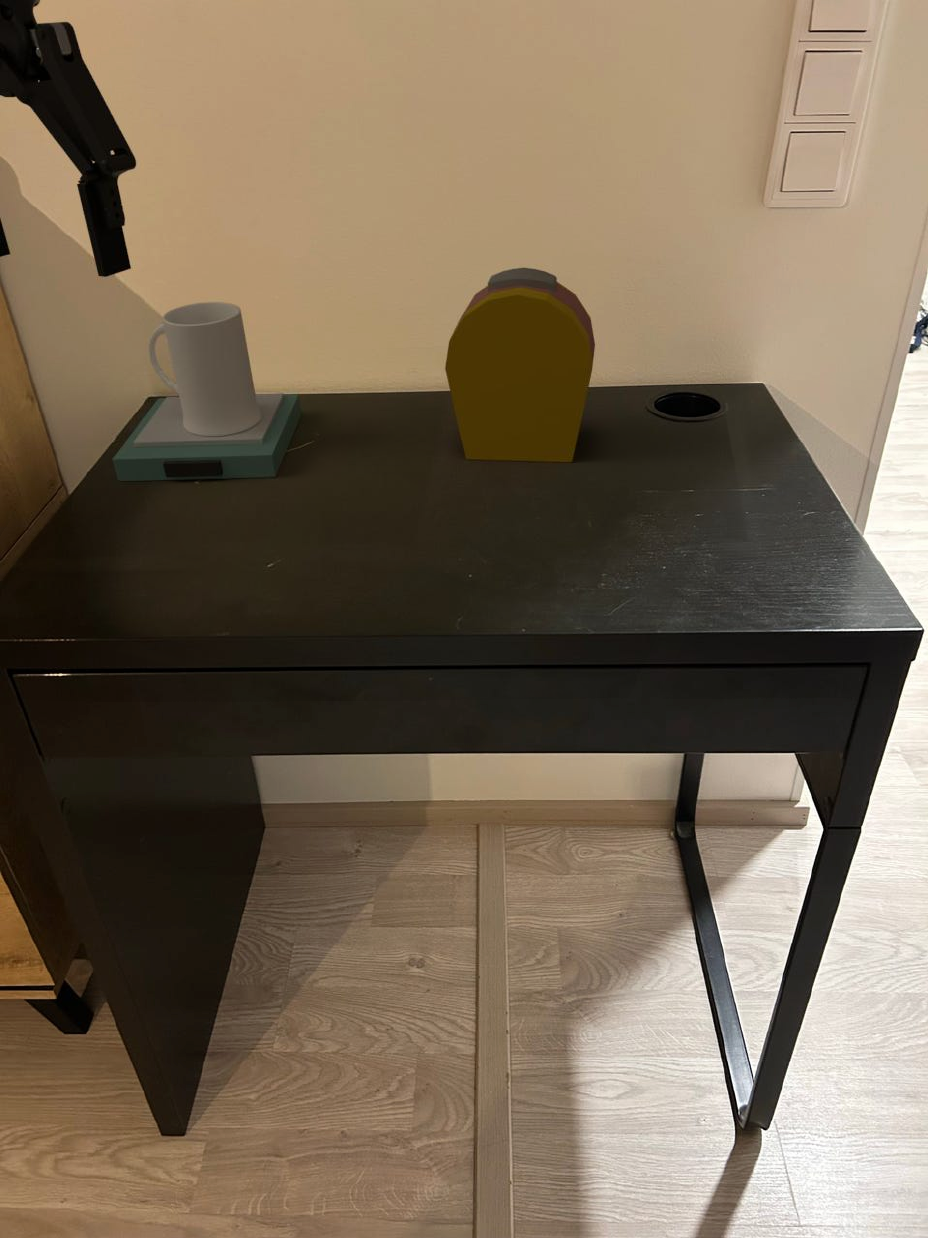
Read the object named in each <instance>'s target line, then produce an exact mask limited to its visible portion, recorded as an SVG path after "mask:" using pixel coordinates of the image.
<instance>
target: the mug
mask: <svg viewBox="0 0 928 1238" xmlns="http://www.w3.org/2000/svg"><path fill="white" fill-rule="evenodd" d="M161 320H162V323H161V324H160V325H159V326H157V327H156V328H155V329H154V331H153V332H152V334H151V335H150V340H149V343H148V355H149V359H150V363H151V366H152V367H153V370H154V371H155V374H156V375H157V376H158V378H159V379H160V380H161V382H162V383H163V384H164V385H166V387H168V388H169V389H170V390H172V391H173V392H175V393H177V394H178V397H180V402H181V406H182V412H183V426H184V428H185V429H186V430H187V431H188V432H190V433H192V434H195V435H199V436H224V435H230V434H235V433H239V432H242V431H245V430H247V429H249V428H251V427H253V426H254V425H256V424H257V423H258V422H259V421H260V419H261V412H260V409H259V407H258V404H257V399H256V394H257V393H256V390H255V384H254V378H253V372H252V366H251V361H250V356H249V349H248V343H247V339H246V334H245V333H246V332H245V327H244V326H245V325H244V321H243V315H242V309H241V307H240V306H239V305H236V304H234V303H231V302H223V301H222V302H221V301H207V302H206V301H205V302H196V303H190V304H185V305H182V306H179V307H176V308H173V309H171V310H169V311H167V312H166V313H164V314H163V315H162V318H161ZM164 334H165V338H166V342H167V343H166V344H167V347H168V352H169V356H170V361H171V365H172V370H173V375H174V378H175V381H173V380H172V379H171V378H170V377H168V375H166V373H165V372H164V370H163V369H162V368H161V366H160V364H159V362H158V359H157V355H156V343H157V341H158V339H159V338H160V336H162V335H164Z"/></svg>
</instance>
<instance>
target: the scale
mask: <svg viewBox="0 0 928 1238" xmlns="http://www.w3.org/2000/svg"><path fill="white" fill-rule="evenodd" d="M255 394H256V399H257V404H258V407H259V409H260V412H261V419H260V421H259V422H258V423H257V424H256V425H254V426H253V427H251V428H249V429H247V430H245V431H242V432H239V433H235V434H230V435H224V436H199V435H195V434H192V433H190V432H188V431H187V430H186V429H185V428H184V426H183V412H182V406H181V402H180V397H179V396H167V397H159V398H157V400H155V402H154V403H153V405H152V406H151V408H150V409H149V410H148V412H147V413H146V414H145V415H144V416H143V418H142V419H141V420H140V422H139V423H138V425H136V428H135V429H133V430H132V433H131V434H130V435H129V437H127V439H126V441H124V443H123V444H122V446H121V447H120V449H119V450H118V451H117V452H116V454H115V455H114V456H113V458H112V463H113V467H114V471H115V474H116V478H117V481H118V482H143V481H144V482H147V481H148V482H149V481H176V480H177V481H182V480H183V481H184V480H219V479H220V480H221V479H222V480H223V479H256V478H276V477H277V475H278V473H279V470H280V468H281V466H282V462H283V460H284V458H285V456H286V453H287V451H288V448H289V446H290V443H291V441H292V438H293V436H294V433H295V431H296V429H297V427H298V425H299V422H300V420H301V417H302V415H303V414H302V406H301V400H300V399H301V398H300V394H299V393H289V394H288V393H286V394H285V393H255Z"/></svg>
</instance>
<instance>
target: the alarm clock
mask: <svg viewBox="0 0 928 1238" xmlns="http://www.w3.org/2000/svg"><path fill="white" fill-rule="evenodd" d="M594 335H595V334H594V330H593V324H592V318H591V316H590V314H589V313H588V311H587V310H586V308H585V307H584V305H583V304H582V302H581V301H580V299H579V297H578V295H577V294H575V293H574V292H573V291H572V290H570V289H568V288H567V287H566V286H564V285H562V284H561V283H560V282H558V279H557V276H556V275H554V274H552V273H550V272H548V271H545V270H542V269H536V268H531V267H518V268H510V269H507V270H502V271H499V272H497V273H496V274H493V275H491V276H490V277H489V280H488V282H487V285H486V286H485V287H483V288H482V289H481V290H479V291H478V292H476V293H475V294H474V295H473V297H472V298H471V300H470V302H469V303H468V305H467V306H466V308H465V310H464V312H463V313H462V314H461V316H460V319H459V320H458V322H457V324H456V326H455V328H454V330H453V333H452V334H451V336H450V339H449V340H448V346H447V353H446V360H445V367H444V371H445V375H446V378H447V383H448V387H449V391H450V396H451V400H452V406H453V409H454V414H455V418H456V422H457V427H458V430H459V435H460V439H461V444H462V449H463V452H464V457H465V460H473V461H474V460H475V461H476V460H477V461H478V460H479V461H480V460H481V461H512V462H546V463H547V462H549V463H572V462H573V460H574V454H575V450H576V445H577V441H578V437H579V433H580V428H581V424H582V419H583V413H584V411H585V410H584V409H585V405H586V400H587V396H588V391H589V387H590V382H591V378H592V374H593V366H594V359H595V358H594V357H595V350H596V342H595V336H594Z"/></svg>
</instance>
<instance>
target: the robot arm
mask: <svg viewBox="0 0 928 1238" xmlns="http://www.w3.org/2000/svg"><path fill="white" fill-rule="evenodd" d="M40 3H41V0H0V97H3V98H16V99H17V100H18V102H20V103H22V104H23V105H27V106H28V107H30V109H31V110H32V112H33V113H34V114H35V116H36V117H37V118H38V119H39V121H40V122H41V123H42V125H43V126H44V127H45V129H46V130H47V131H48V133H49V134H50V135H51V136H52V138H53V139H54V140H55V142H56V143H57V144H58V145H59V147H60V148H61V149H62V151H63V152H64V153H65V155H66V156H67V157H68V159H69V160H70V161H71V163H72V164H73V165H74V166H75V168H76V169H77V170H78V172H79V173H80V175H81V176H80V178H79V180H78V181H77V182H78V183H77V184H76V187H77V190H78V195H79V199H80V203H81V207H82V212H83V215H84V216H83V217H84V220H85V221H84V222H85V224H86V229H87V233H88V238H89V242H90V245H91V250H92V254H93V259H94V262H95V263H94V264H95V267H96V271H97V276H98V277H103V278H107V277H111V276H114V275H116V274H119V273H121V272H125V271H128V270H131V269H132V266H131V261H130V256H129V252H128V247H127V243H126V238H125V233H124V229H123V227H124V226H125V225H126V216H125V212H124V207H123V204H122V203H123V202H122V198H121V193H120V189H119V177H120V176H121V175H122V174H124V173H126V172H128V171H131V170H134V169H136V167H137V159H136V157H135V155H134V153H133V151H132V149H131V147H130V145H129V143H128V142H127V140H126V137H125V136H124V134H123V132H122V130H121V129H120V126H119V124H118V123H117V121H116V118H115V117H114V115H113V113H112V111H111V109H110V107H109V105H108V104H107V102H106V100H105V98H104V96H103V95H102V92H101V90H100V89H99V87H98V84H97V83H96V81H95V79H94V77H93V75H92V74H91V71H90V70H89V68H88V65H86V63H85V60H84V59H83V54H82V52H81V48H80V44H79V42H78V41H79V40H78V39H77V34H76V30H75V29H74V26H73V25H72V24H71V23H70V22H69V21H55V22H41V23H40V22H39V23H38V21H37V19H36V17H35V13H34V8H36V7H37V6H39V4H40ZM112 153H113V154H112ZM8 255H11V251H10V247H9V244H8V240H7V237H6V234H5V229H4V226H3V222H2V219H1V217H0V258H1V257H5V256H8Z"/></svg>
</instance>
